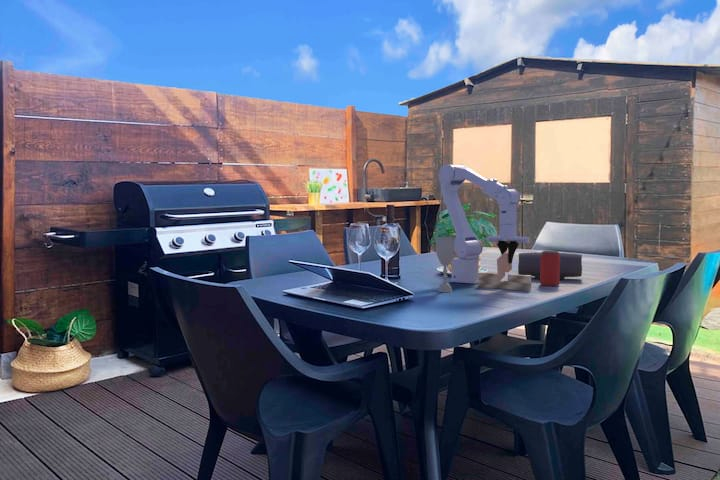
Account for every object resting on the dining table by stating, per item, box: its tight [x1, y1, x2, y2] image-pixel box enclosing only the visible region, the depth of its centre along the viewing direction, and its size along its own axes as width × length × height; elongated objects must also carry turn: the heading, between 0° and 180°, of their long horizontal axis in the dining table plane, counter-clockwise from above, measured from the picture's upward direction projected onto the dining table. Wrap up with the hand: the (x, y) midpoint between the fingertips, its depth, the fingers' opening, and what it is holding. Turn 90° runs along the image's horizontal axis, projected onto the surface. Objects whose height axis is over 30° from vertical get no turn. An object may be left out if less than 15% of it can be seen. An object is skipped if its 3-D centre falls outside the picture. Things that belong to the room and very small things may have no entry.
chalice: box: [434, 236, 456, 293], centre depth 206 cm, size 7×7×18 cm
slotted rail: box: [477, 271, 532, 292], centre depth 211 cm, size 18×2×5 cm, turn 59°
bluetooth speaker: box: [517, 251, 583, 280], centre depth 232 cm, size 23×9×10 cm, turn 73°
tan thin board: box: [496, 249, 513, 281], centre depth 210 cm, size 1×12×7 cm, turn 149°
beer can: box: [539, 250, 561, 287], centre depth 216 cm, size 7×7×12 cm
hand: (507, 263), depth 213 cm, fingers closed on tan thin board, 1 cm apart
